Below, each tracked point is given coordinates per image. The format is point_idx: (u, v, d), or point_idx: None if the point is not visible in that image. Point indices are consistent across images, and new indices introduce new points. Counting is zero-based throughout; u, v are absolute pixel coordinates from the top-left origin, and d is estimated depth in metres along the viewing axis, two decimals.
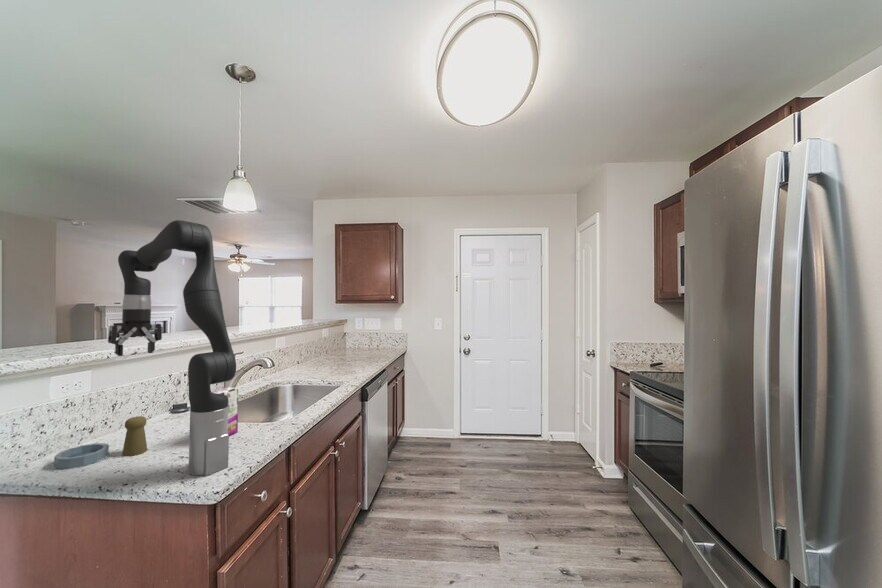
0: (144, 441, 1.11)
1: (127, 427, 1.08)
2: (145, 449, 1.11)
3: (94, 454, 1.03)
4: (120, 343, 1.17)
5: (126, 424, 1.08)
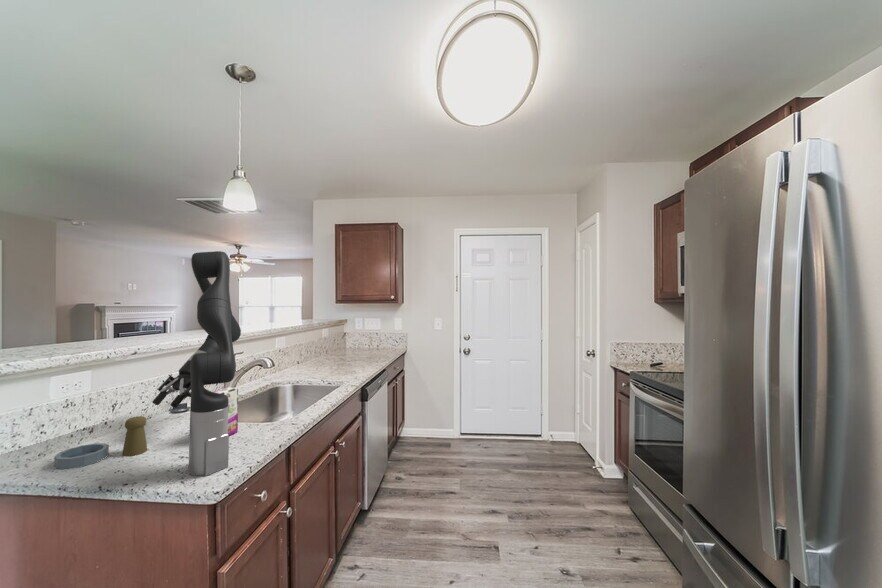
0: (144, 441, 1.11)
1: (127, 427, 1.08)
2: (145, 449, 1.11)
3: (94, 454, 1.03)
4: (161, 390, 1.22)
5: (126, 424, 1.08)
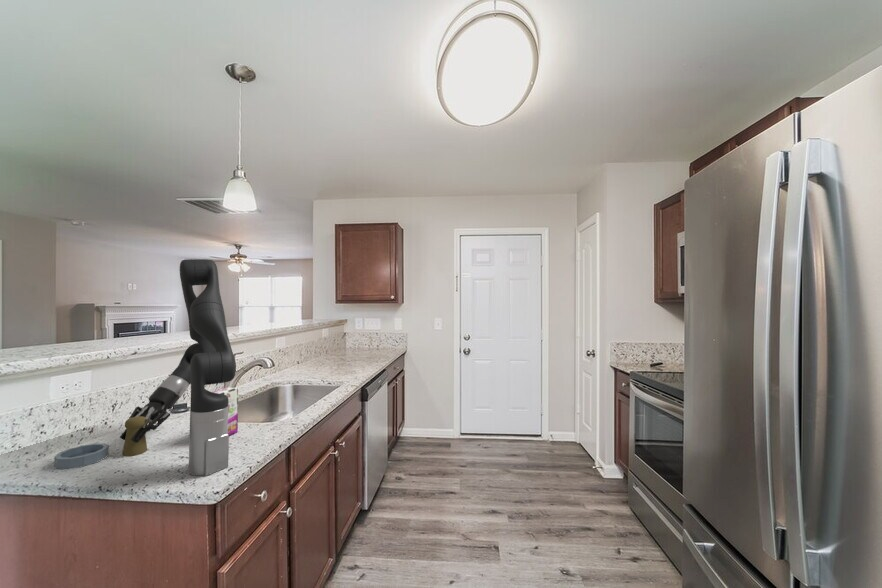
0: (144, 441, 1.11)
1: (127, 427, 1.08)
2: (145, 449, 1.11)
3: (94, 454, 1.03)
4: None
5: (126, 424, 1.08)
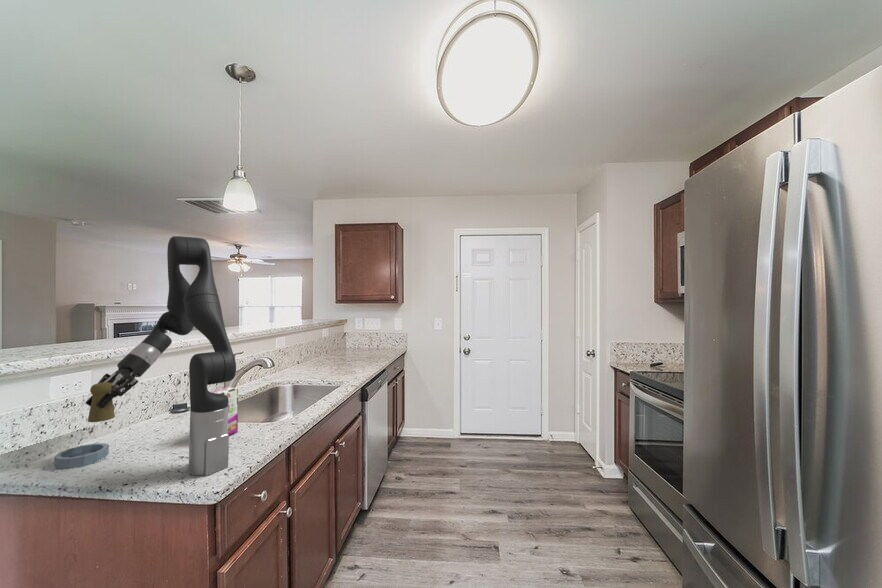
0: (111, 407, 1.08)
1: (92, 392, 1.05)
2: (112, 416, 1.08)
3: (94, 454, 1.03)
4: None
5: (91, 389, 1.05)
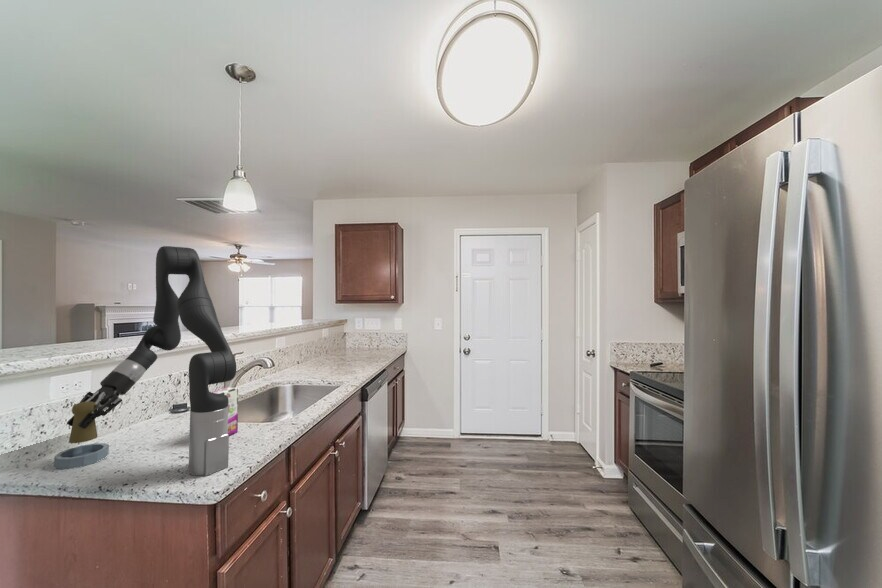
0: (93, 427, 1.05)
1: (74, 412, 1.02)
2: (95, 436, 1.05)
3: (94, 454, 1.03)
4: None
5: (73, 409, 1.03)
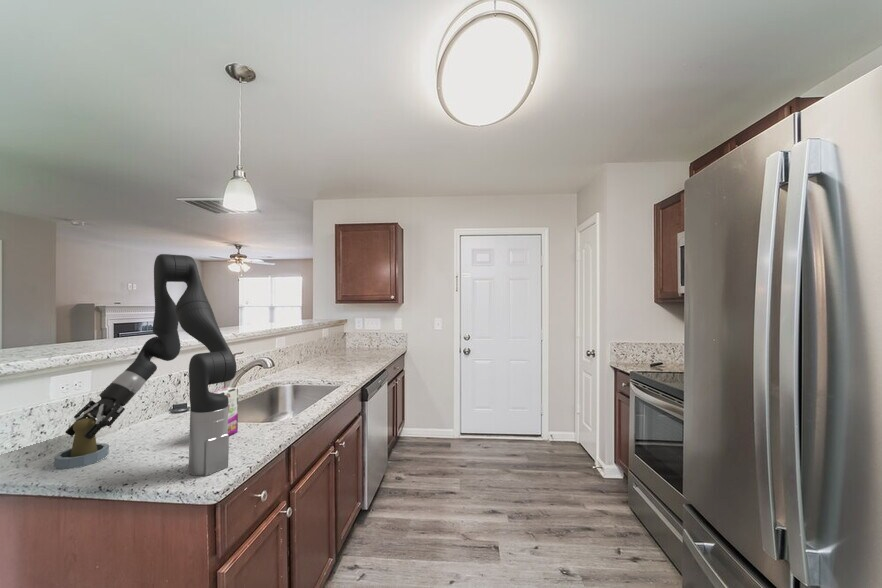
0: (93, 444, 1.06)
1: (74, 429, 1.03)
2: None
3: (94, 454, 1.03)
4: (77, 418, 1.07)
5: (73, 426, 1.04)
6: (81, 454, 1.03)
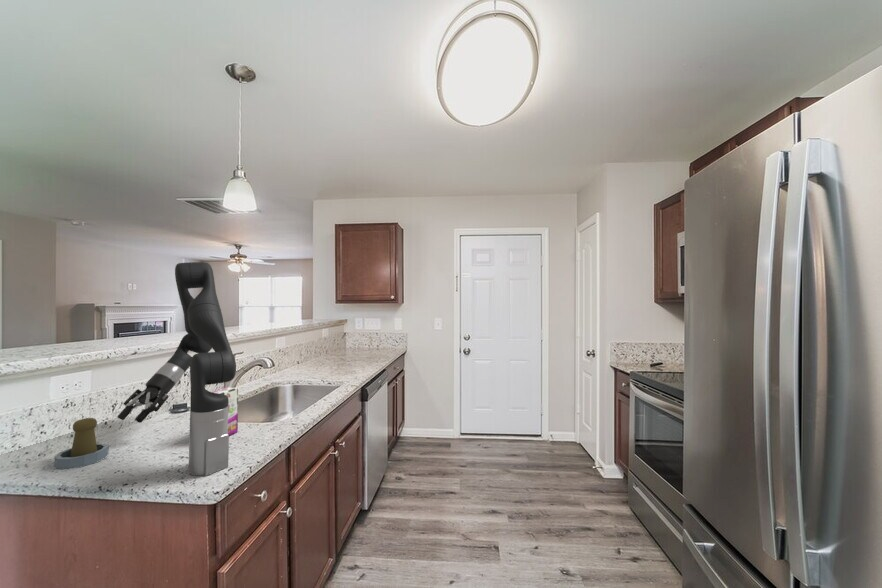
0: (93, 444, 1.06)
1: (74, 429, 1.03)
2: None
3: (94, 454, 1.03)
4: (127, 405, 1.19)
5: (73, 426, 1.04)
6: (81, 454, 1.03)
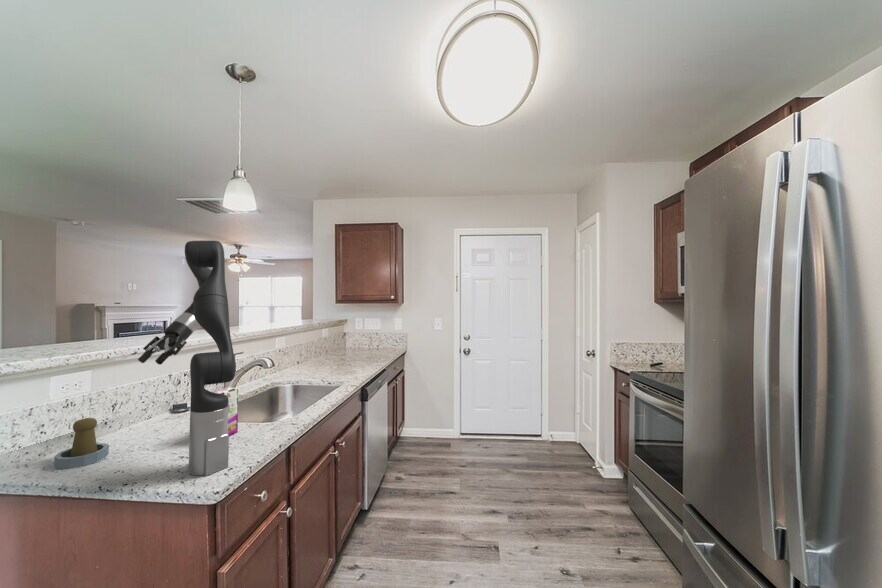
0: (93, 444, 1.06)
1: (74, 429, 1.03)
2: None
3: (94, 454, 1.03)
4: (146, 349, 1.24)
5: (73, 426, 1.04)
6: (81, 454, 1.03)
